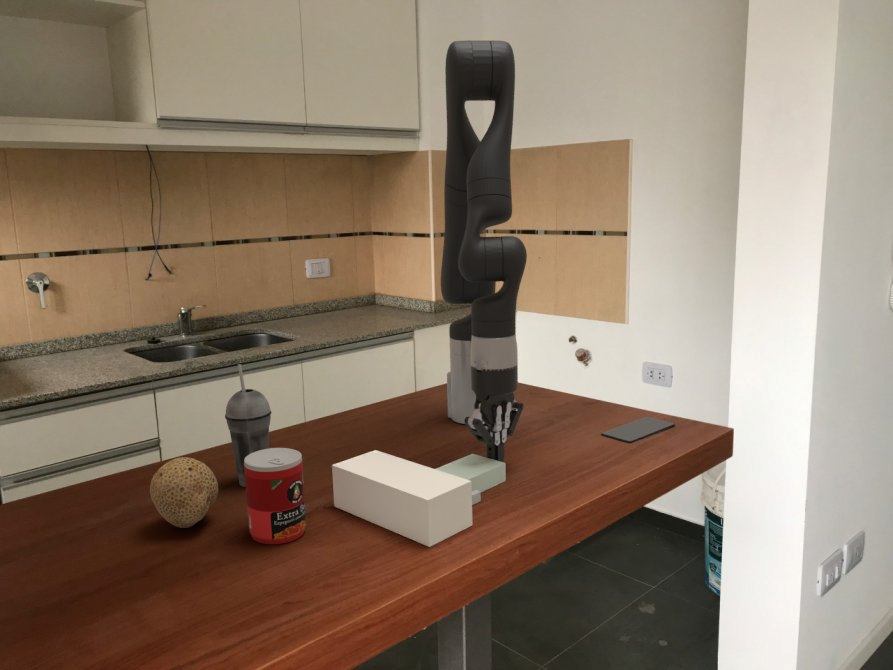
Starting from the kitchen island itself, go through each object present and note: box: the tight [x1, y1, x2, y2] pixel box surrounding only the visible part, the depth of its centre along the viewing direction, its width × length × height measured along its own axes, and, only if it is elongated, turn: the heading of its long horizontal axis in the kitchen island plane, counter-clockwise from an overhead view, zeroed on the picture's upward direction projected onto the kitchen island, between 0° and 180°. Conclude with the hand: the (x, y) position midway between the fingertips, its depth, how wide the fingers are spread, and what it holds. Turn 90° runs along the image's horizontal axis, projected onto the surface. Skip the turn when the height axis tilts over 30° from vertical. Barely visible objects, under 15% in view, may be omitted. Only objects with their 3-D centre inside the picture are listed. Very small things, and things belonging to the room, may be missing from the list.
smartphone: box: [600, 416, 676, 444], centre depth 140 cm, size 7×1×15 cm
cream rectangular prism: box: [331, 449, 482, 548], centre depth 107 cm, size 20×16×6 cm
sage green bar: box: [435, 453, 507, 493], centre depth 113 cm, size 7×16×3 cm, turn 137°
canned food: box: [244, 447, 307, 545], centre depth 100 cm, size 8×8×11 cm
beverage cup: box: [224, 363, 272, 488], centre depth 117 cm, size 7×7×20 cm
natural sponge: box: [149, 456, 219, 529], centre depth 103 cm, size 9×9×10 cm
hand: (495, 464), depth 120 cm, fingers closed
